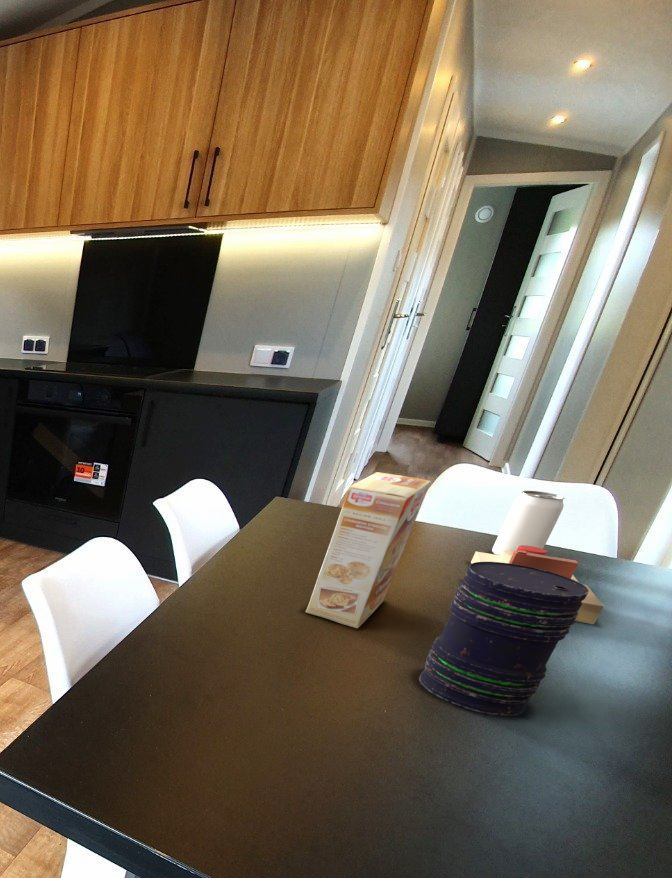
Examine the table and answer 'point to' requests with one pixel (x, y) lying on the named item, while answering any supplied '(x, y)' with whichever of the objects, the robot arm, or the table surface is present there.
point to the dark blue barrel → (501, 636)
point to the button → (532, 550)
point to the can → (529, 521)
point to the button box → (497, 558)
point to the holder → (545, 563)
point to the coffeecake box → (366, 547)
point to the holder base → (589, 608)
